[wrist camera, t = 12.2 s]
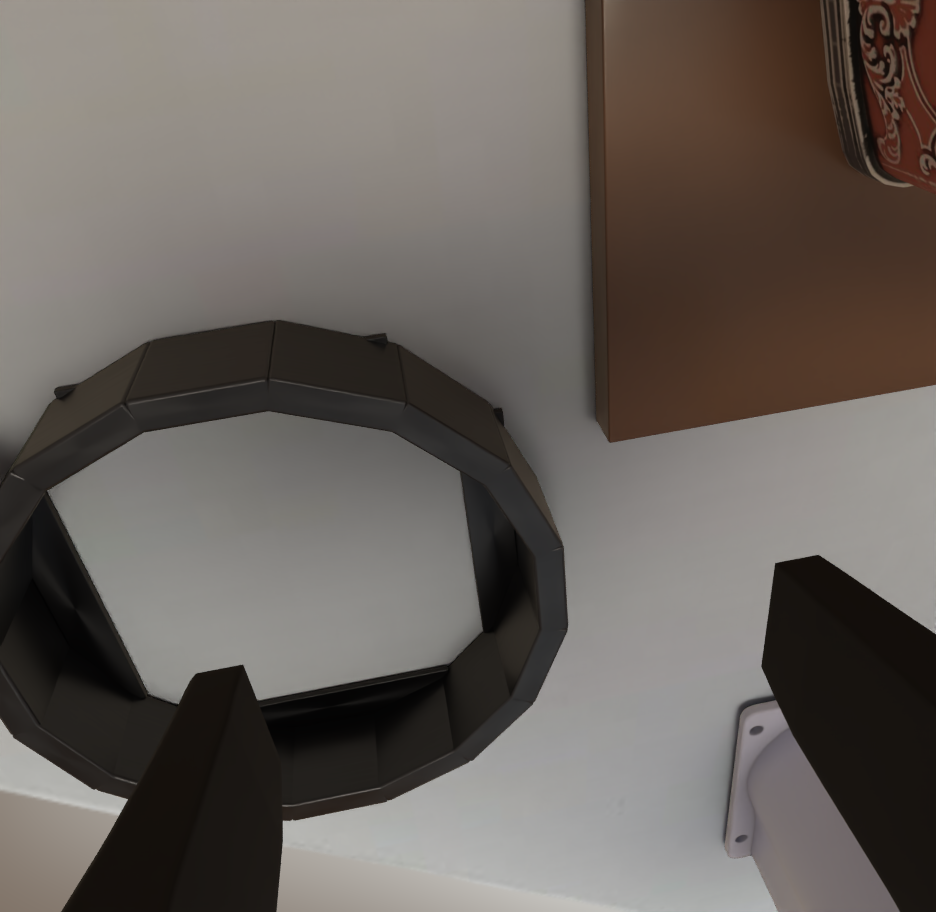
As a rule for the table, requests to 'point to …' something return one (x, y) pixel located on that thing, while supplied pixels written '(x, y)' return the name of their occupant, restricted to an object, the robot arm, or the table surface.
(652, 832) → the table surface
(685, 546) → the table surface
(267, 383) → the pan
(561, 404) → the table surface
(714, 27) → the board
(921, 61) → the lighter
